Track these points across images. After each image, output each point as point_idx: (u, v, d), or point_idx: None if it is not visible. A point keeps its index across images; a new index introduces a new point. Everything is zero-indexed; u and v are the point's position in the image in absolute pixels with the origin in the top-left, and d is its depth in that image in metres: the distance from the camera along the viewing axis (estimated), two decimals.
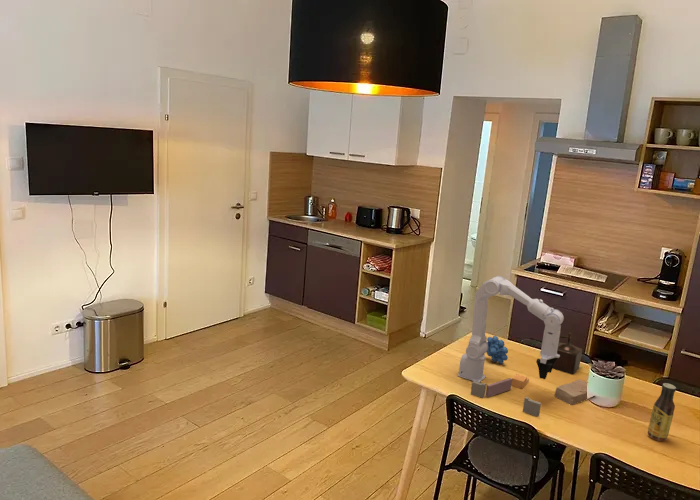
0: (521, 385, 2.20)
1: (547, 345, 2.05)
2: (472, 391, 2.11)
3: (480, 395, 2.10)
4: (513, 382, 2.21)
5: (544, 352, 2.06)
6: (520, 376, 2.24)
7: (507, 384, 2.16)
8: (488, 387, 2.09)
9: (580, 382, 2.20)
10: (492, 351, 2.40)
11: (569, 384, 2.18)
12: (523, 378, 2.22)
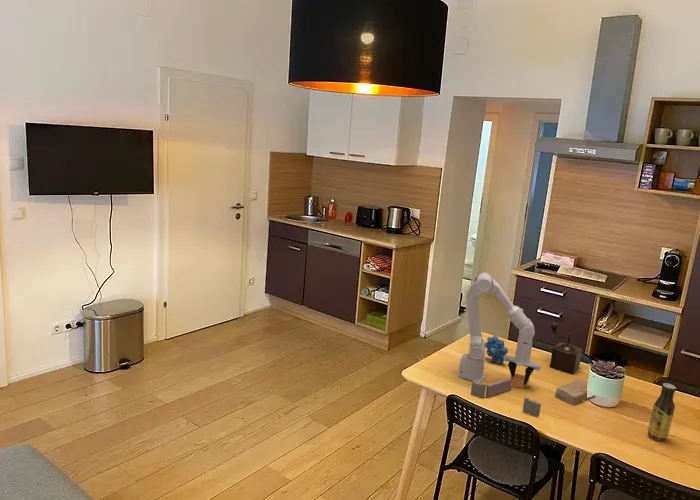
0: (522, 384, 2.20)
1: None
2: (472, 391, 2.11)
3: (480, 395, 2.10)
4: (514, 381, 2.22)
5: None
6: (521, 375, 2.24)
7: (507, 384, 2.16)
8: (488, 387, 2.09)
9: (579, 382, 2.20)
10: (492, 351, 2.40)
11: (569, 384, 2.18)
12: (524, 377, 2.22)
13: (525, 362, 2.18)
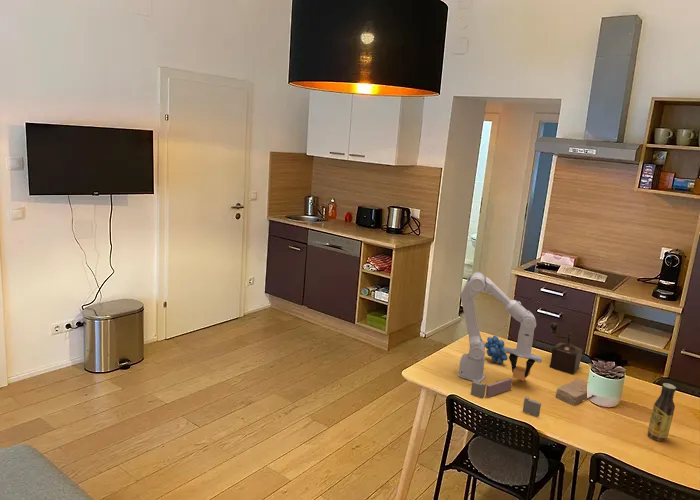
0: (522, 376, 2.19)
1: None
2: (472, 391, 2.11)
3: (480, 395, 2.10)
4: (514, 373, 2.21)
5: None
6: (521, 367, 2.23)
7: (507, 384, 2.16)
8: (488, 387, 2.09)
9: (578, 382, 2.20)
10: (492, 351, 2.40)
11: (568, 384, 2.18)
12: (524, 369, 2.22)
13: (526, 354, 2.17)
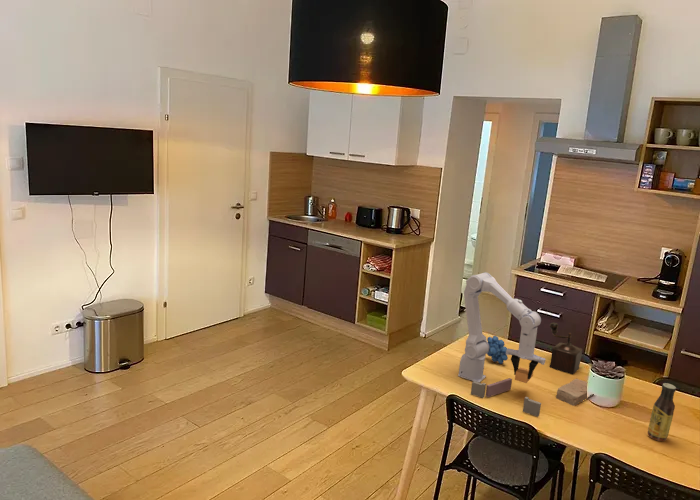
0: (525, 378, 2.09)
1: None
2: (472, 391, 2.11)
3: (480, 395, 2.10)
4: (517, 375, 2.10)
5: None
6: (524, 369, 2.13)
7: (507, 384, 2.16)
8: (488, 387, 2.09)
9: (578, 381, 2.20)
10: (492, 351, 2.40)
11: (568, 384, 2.18)
12: (527, 371, 2.11)
13: (529, 355, 2.06)
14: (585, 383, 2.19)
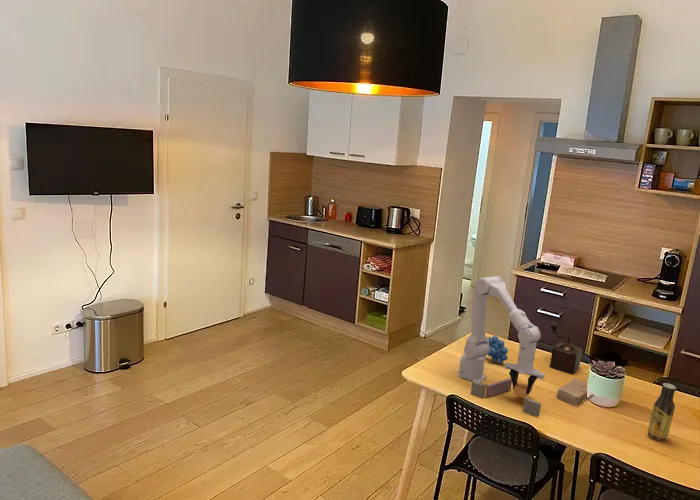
0: (524, 393, 2.05)
1: None
2: (472, 391, 2.11)
3: (480, 395, 2.10)
4: (515, 390, 2.07)
5: None
6: (523, 384, 2.09)
7: (507, 384, 2.16)
8: (488, 387, 2.09)
9: (577, 381, 2.20)
10: (492, 351, 2.40)
11: (568, 384, 2.17)
12: (526, 386, 2.07)
13: (528, 370, 2.03)
14: (584, 383, 2.19)
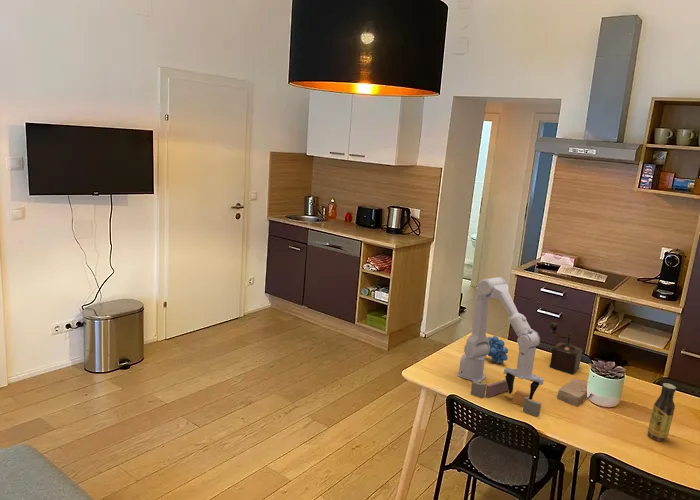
0: (523, 402, 2.06)
1: None
2: (472, 391, 2.11)
3: (480, 395, 2.10)
4: (514, 398, 2.07)
5: None
6: (522, 392, 2.10)
7: (507, 384, 2.16)
8: (488, 387, 2.09)
9: (576, 381, 2.20)
10: (492, 351, 2.40)
11: (568, 384, 2.17)
12: (525, 394, 2.08)
13: (527, 375, 2.03)
14: (584, 382, 2.20)
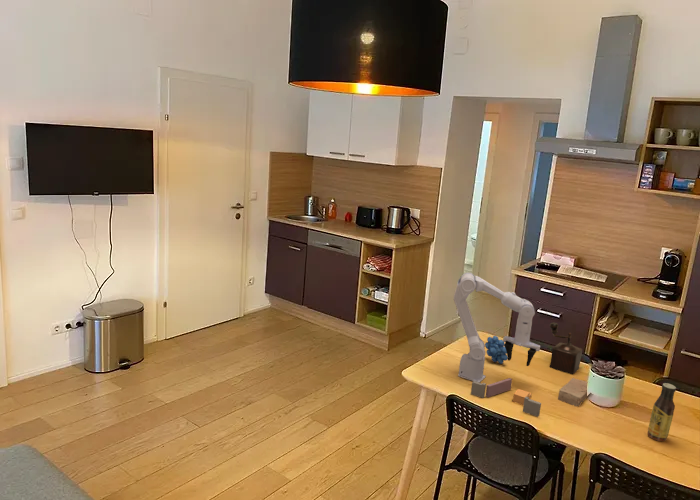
0: (523, 401, 2.06)
1: None
2: (472, 391, 2.11)
3: (480, 395, 2.10)
4: (515, 398, 2.08)
5: None
6: (522, 391, 2.10)
7: (507, 384, 2.16)
8: (488, 387, 2.09)
9: (575, 381, 2.21)
10: (492, 351, 2.40)
11: (568, 385, 2.17)
12: (525, 394, 2.08)
13: (524, 342, 2.17)
14: (582, 382, 2.20)
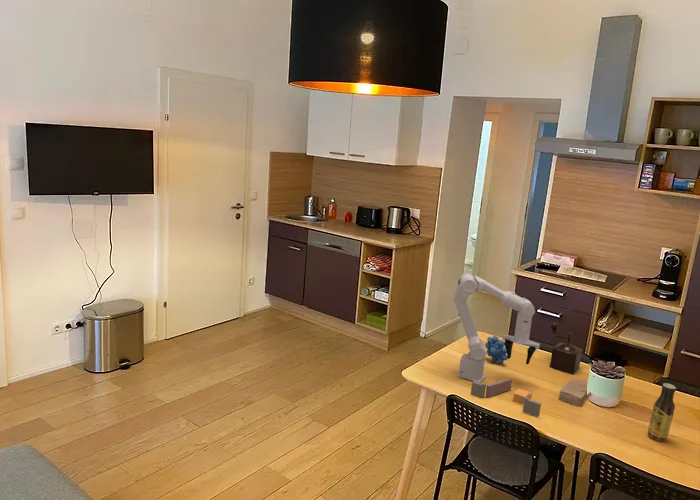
0: None
1: None
2: (472, 391, 2.11)
3: (480, 395, 2.10)
4: (515, 398, 2.08)
5: None
6: (522, 391, 2.10)
7: (507, 384, 2.16)
8: (488, 387, 2.09)
9: (574, 381, 2.21)
10: (492, 351, 2.40)
11: (567, 385, 2.17)
12: (526, 393, 2.09)
13: (524, 341, 2.19)
14: (581, 382, 2.20)
